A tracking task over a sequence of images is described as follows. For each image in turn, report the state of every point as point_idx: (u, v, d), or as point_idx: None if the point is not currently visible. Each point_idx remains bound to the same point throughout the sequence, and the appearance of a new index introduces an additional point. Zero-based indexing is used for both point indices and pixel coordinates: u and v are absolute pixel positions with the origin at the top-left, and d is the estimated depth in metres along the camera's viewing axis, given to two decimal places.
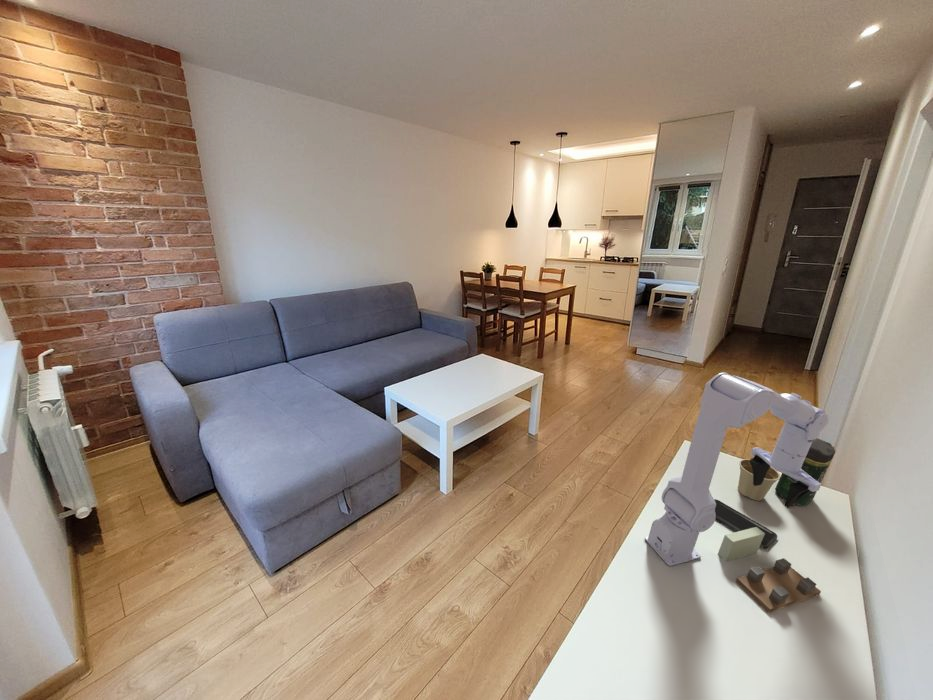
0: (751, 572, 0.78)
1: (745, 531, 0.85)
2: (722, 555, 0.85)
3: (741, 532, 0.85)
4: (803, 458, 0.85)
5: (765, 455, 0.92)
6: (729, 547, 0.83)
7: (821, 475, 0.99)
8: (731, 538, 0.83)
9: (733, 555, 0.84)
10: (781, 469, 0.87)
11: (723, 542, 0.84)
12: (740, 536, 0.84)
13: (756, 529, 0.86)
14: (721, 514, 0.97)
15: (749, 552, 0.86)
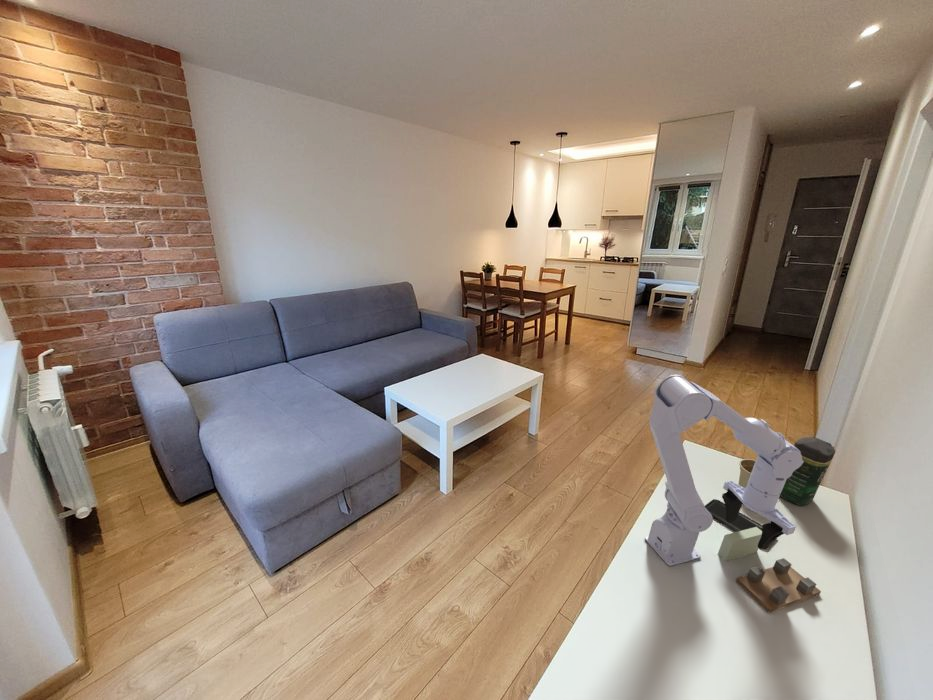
0: (751, 572, 0.78)
1: (745, 531, 0.85)
2: (722, 555, 0.85)
3: (741, 532, 0.85)
4: (777, 497, 0.78)
5: (738, 490, 0.85)
6: (729, 547, 0.83)
7: (821, 475, 0.99)
8: (731, 538, 0.83)
9: (733, 555, 0.84)
10: (754, 508, 0.80)
11: (723, 542, 0.84)
12: (740, 536, 0.84)
13: (756, 529, 0.86)
14: (721, 513, 0.97)
15: (749, 552, 0.86)
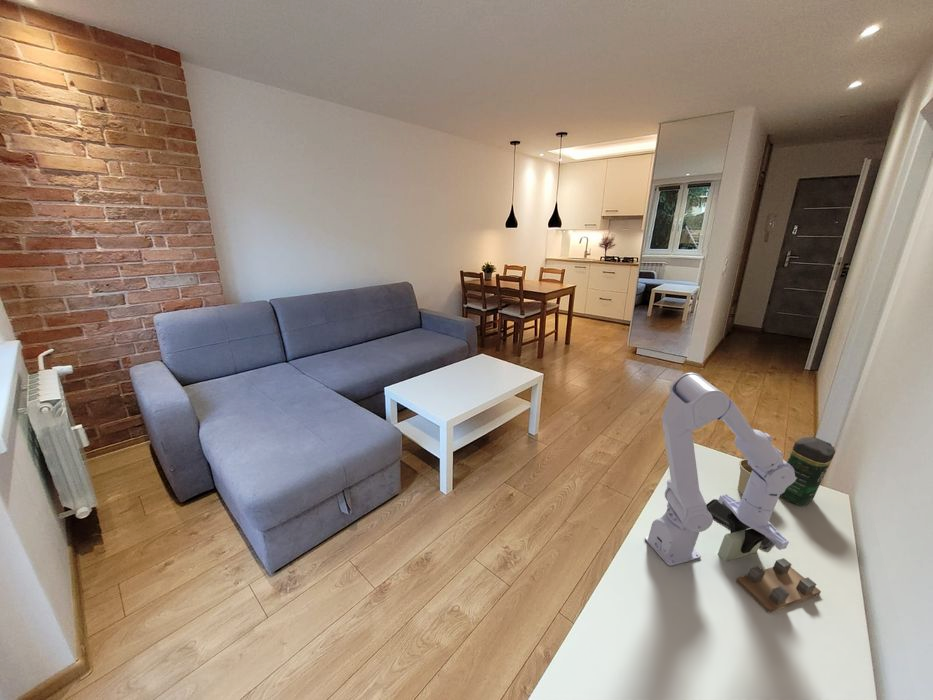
0: (751, 572, 0.78)
1: None
2: (722, 555, 0.85)
3: (741, 532, 0.85)
4: (770, 512, 0.79)
5: (733, 504, 0.87)
6: (729, 547, 0.83)
7: (821, 475, 0.99)
8: (731, 538, 0.83)
9: (733, 555, 0.84)
10: (748, 522, 0.81)
11: (723, 542, 0.84)
12: (740, 535, 0.84)
13: None
14: (721, 513, 0.97)
15: (749, 552, 0.86)
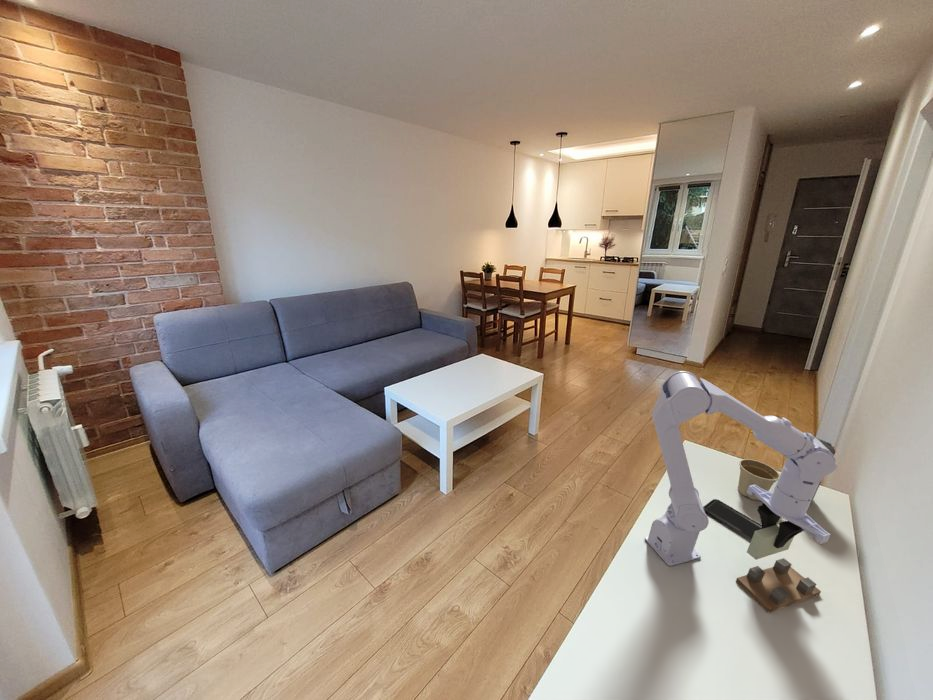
0: (751, 572, 0.78)
1: (776, 526, 0.79)
2: (752, 553, 0.78)
3: (772, 527, 0.78)
4: (808, 502, 0.72)
5: (764, 495, 0.80)
6: (760, 544, 0.76)
7: None
8: (762, 534, 0.76)
9: (764, 553, 0.78)
10: (783, 514, 0.74)
11: (753, 539, 0.78)
12: (771, 532, 0.77)
13: None
14: (721, 513, 0.97)
15: (780, 549, 0.79)
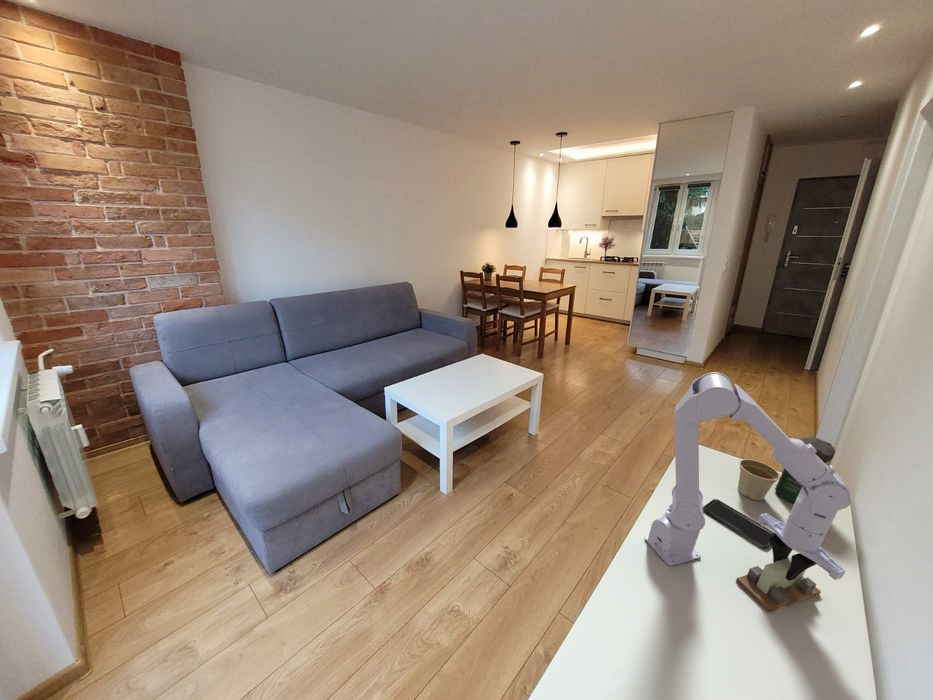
0: (751, 572, 0.78)
1: (787, 560, 0.77)
2: (762, 587, 0.76)
3: (783, 561, 0.76)
4: (823, 536, 0.70)
5: (776, 525, 0.78)
6: (771, 579, 0.74)
7: None
8: (773, 569, 0.75)
9: (774, 587, 0.76)
10: (796, 547, 0.72)
11: (763, 573, 0.76)
12: (782, 566, 0.75)
13: None
14: (721, 513, 0.97)
15: (791, 583, 0.77)
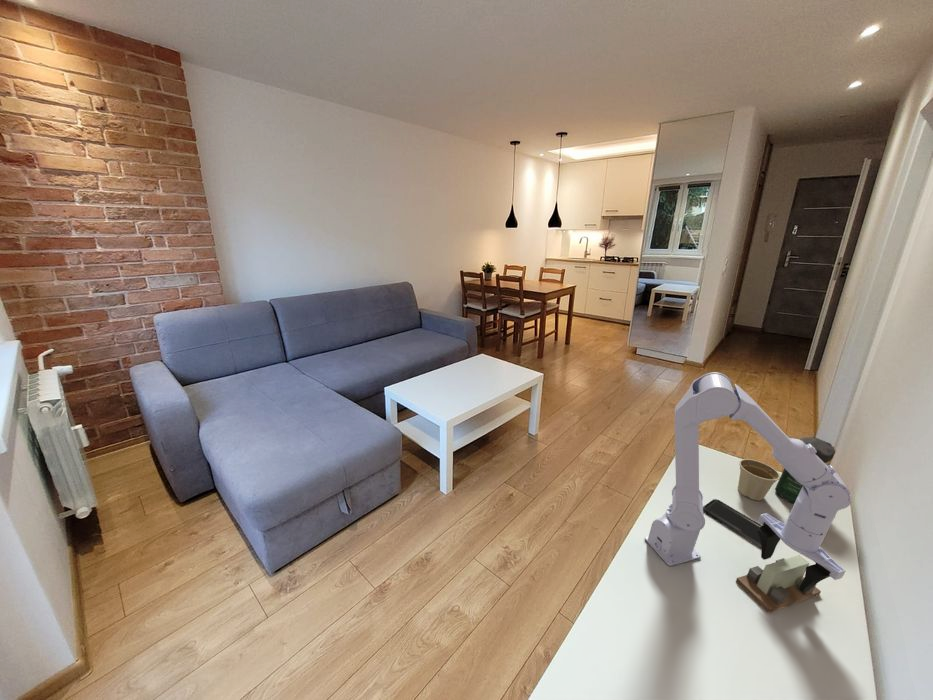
0: (751, 572, 0.78)
1: (787, 560, 0.77)
2: (762, 587, 0.76)
3: (783, 562, 0.76)
4: (823, 536, 0.70)
5: (776, 525, 0.78)
6: (771, 579, 0.75)
7: None
8: (773, 569, 0.75)
9: (775, 587, 0.76)
10: (796, 547, 0.72)
11: (763, 573, 0.76)
12: (782, 566, 0.75)
13: (799, 558, 0.78)
14: (721, 513, 0.97)
15: (791, 583, 0.78)
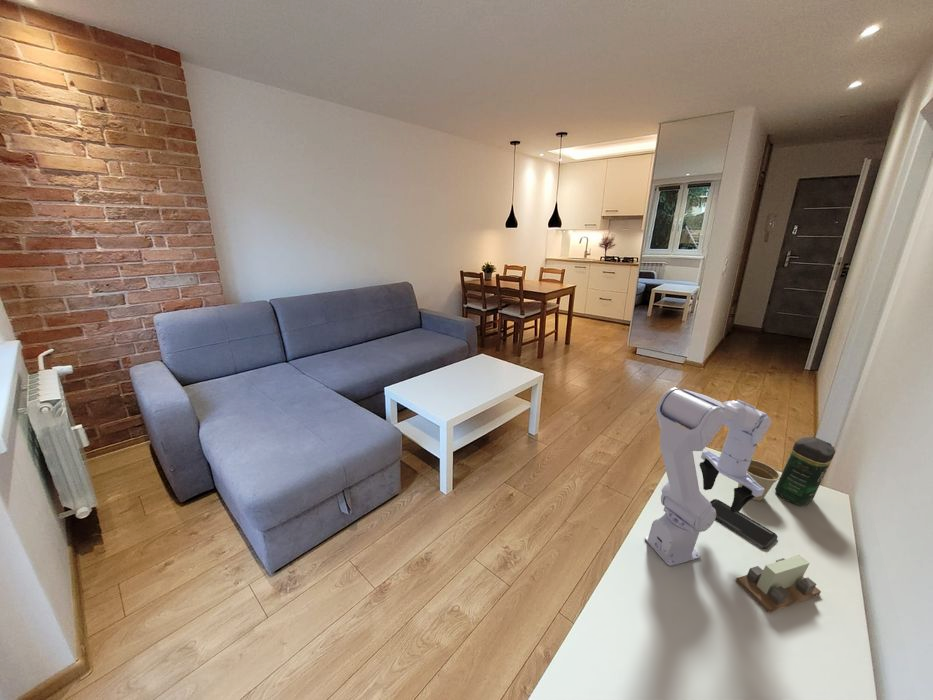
0: (751, 572, 0.78)
1: (787, 560, 0.77)
2: (762, 587, 0.76)
3: (783, 562, 0.76)
4: (748, 462, 0.83)
5: (714, 459, 0.91)
6: (771, 579, 0.75)
7: (821, 475, 0.99)
8: (773, 569, 0.75)
9: (775, 587, 0.76)
10: (726, 473, 0.85)
11: (763, 573, 0.76)
12: (782, 566, 0.75)
13: (799, 558, 0.78)
14: (721, 513, 0.97)
15: (791, 583, 0.78)
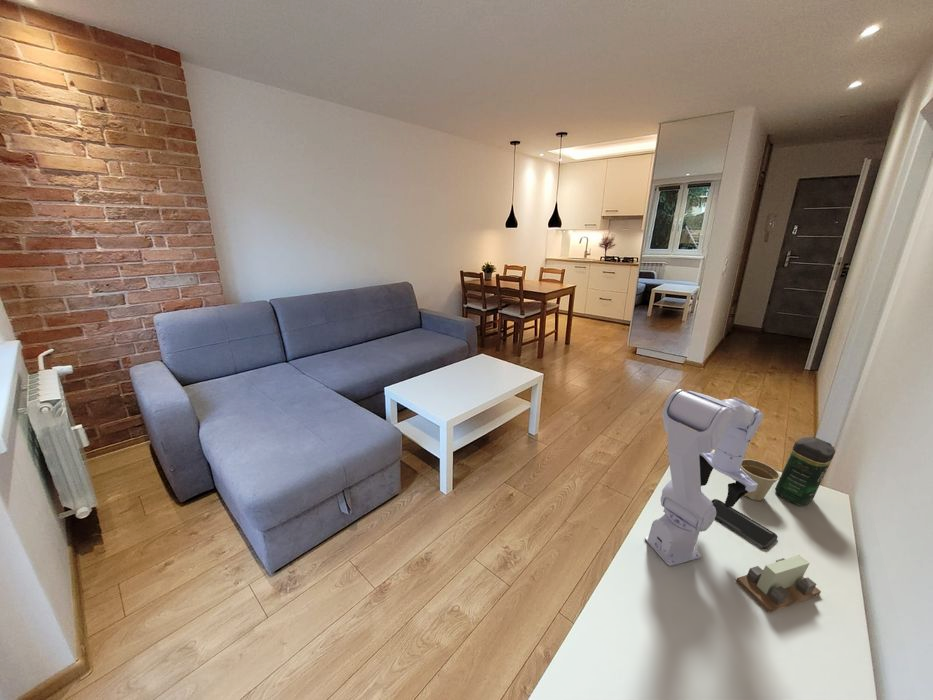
0: (751, 572, 0.78)
1: (787, 560, 0.77)
2: (762, 587, 0.76)
3: (783, 562, 0.76)
4: (741, 458, 0.84)
5: (708, 455, 0.92)
6: (771, 579, 0.75)
7: (821, 475, 0.99)
8: (773, 569, 0.75)
9: (775, 587, 0.76)
10: (721, 469, 0.87)
11: (763, 573, 0.76)
12: (782, 566, 0.75)
13: (799, 558, 0.78)
14: (721, 513, 0.98)
15: (791, 583, 0.78)
